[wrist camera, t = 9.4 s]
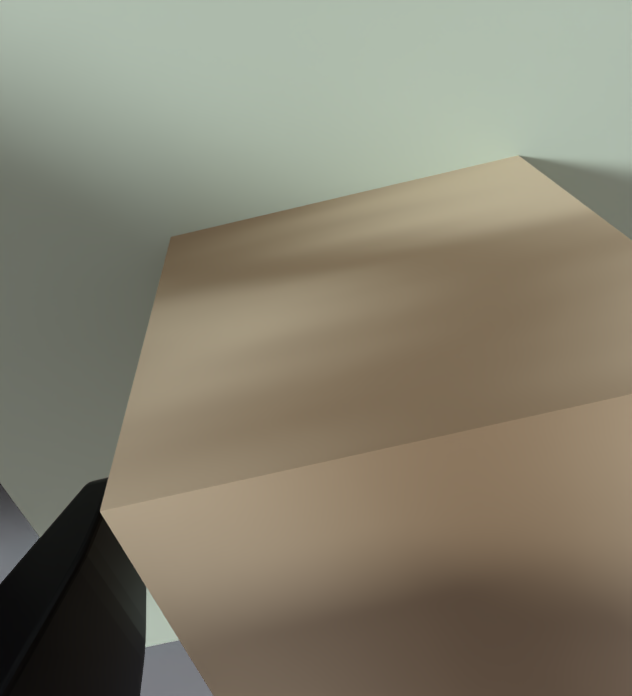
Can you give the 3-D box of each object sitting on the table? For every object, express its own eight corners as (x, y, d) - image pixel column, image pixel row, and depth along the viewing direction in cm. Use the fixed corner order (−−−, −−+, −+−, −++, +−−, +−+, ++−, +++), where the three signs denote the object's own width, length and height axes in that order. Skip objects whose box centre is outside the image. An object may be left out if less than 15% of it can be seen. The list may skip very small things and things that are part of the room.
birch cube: (260, 477, 11) (269, 785, 7) (170, 237, 8) (98, 511, 4) (521, 420, 11) (685, 699, 7) (518, 155, 8) (788, 359, 4)
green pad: (132, 605, 15) (123, 651, 14) (-308, -58, 7) (-396, -60, 6) (688, 485, 14) (721, 524, 14) (874, -363, 7) (985, -419, 6)
